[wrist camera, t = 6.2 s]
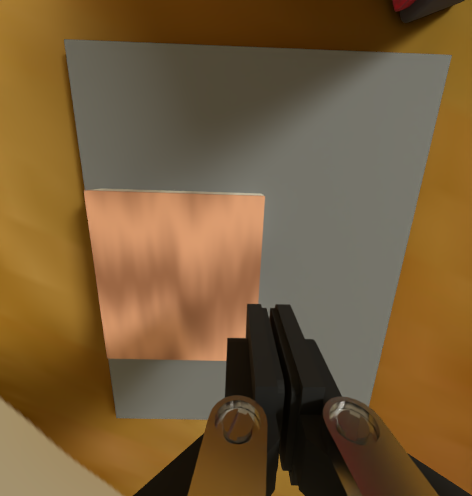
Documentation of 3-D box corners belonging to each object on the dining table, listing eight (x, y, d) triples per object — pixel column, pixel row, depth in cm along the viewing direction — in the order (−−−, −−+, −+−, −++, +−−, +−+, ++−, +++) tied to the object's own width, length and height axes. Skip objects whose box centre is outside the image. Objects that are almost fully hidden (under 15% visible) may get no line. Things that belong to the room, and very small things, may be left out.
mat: (359, 412, 20) (364, 422, 19) (121, 408, 20) (116, 417, 19) (438, 61, 13) (451, 55, 12) (73, 47, 13) (63, 39, 12)
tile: (254, 361, 15) (107, 358, 15) (252, 342, 17) (120, 339, 17) (264, 196, 13) (83, 190, 12) (261, 193, 14) (102, 188, 14)
